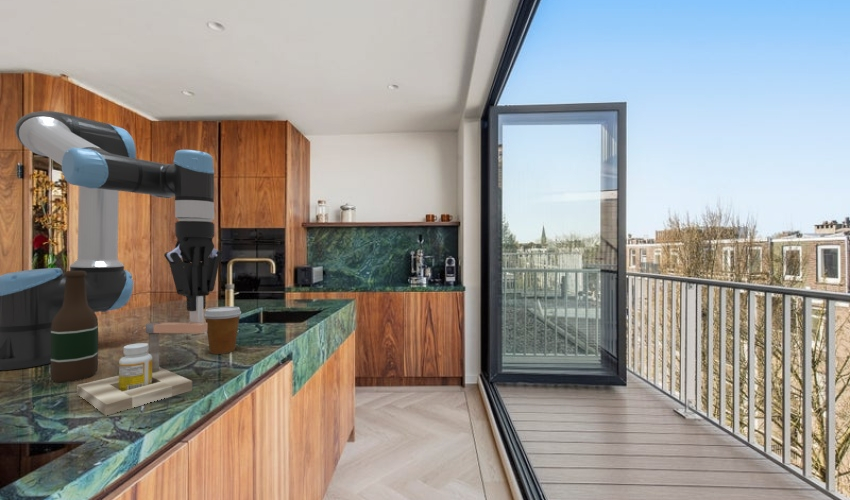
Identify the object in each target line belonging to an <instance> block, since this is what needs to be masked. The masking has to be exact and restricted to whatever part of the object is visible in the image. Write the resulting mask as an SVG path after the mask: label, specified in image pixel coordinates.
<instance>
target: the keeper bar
mask: <svg viewBox="0 0 850 500" xmlns="http://www.w3.org/2000/svg"><path fill="white" fill-rule="evenodd" d="M145 327H146V328H145V333H146V334H149V333H159V334H203V333H207V323H206V322H204V323H190V322H161V321H160V322H157V321H156V322H149V323H146V325H145Z"/></svg>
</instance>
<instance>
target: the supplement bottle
mask: <svg viewBox="0 0 850 500" xmlns="http://www.w3.org/2000/svg"><path fill="white" fill-rule="evenodd" d="M122 350H123V352H122V353H123V355H124V356H122V357H120V359H119V361H118V376H119V390H120V391H122V392H123V391H127V390H130V389H134V388H138V387H142V386H146V385H150V384H152V356H151V354H149V343H146V342H144V343H143V342H137V343H131V344H127V345H125V346H123V349H122Z"/></svg>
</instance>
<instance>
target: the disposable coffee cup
mask: <svg viewBox="0 0 850 500" xmlns="http://www.w3.org/2000/svg"><path fill="white" fill-rule="evenodd" d="M241 314H242V311H241V309H240V307H239V306H218V307H217V306H216V307H215V306H214V307H209V308H205V309H204V313H203V318H204V320H205V323H207V331H206V334H207V340H208V341H207V342H208V348H209V353H210V354H214V355H217V354H220V355H221V354H229V353H231V352H234V351H235V350H236V343H237V336H238V330H239V321H240V316H241Z"/></svg>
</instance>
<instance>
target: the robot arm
mask: <svg viewBox="0 0 850 500" xmlns="http://www.w3.org/2000/svg"><path fill="white" fill-rule="evenodd" d="M14 133H15V135H16V139H17V140H18V142H19V143H21V145H22V146H23V147H24V148H26V149H27V150H28V151H30V152H32V153H34V154H36V155H39V156H43V157H47V158H49V159H51V160H52V161H54V162H55V163H57V164H58V165H60V166H61V172H62V175H63V176H64V177H63V178H64V180H65V181H66V182H67V183H68V184H70V185H72V186H78V216H77V217H78V221H77V222H78V225H77V227H78V229H77V259H76V261H74V262H73V263H71V264H70V265H69V271H80V270H81V271H86V274H87V275H86V276H85V282H86V295H87V302H88V306H89V307H90V308H91V309H92V310H93V311H94V312H95V313H97V312H98V313H99V312H101V313H105V312H109V311H115V310H118V309H119V310H120V309H121V308H123V307H124V306H125V305H127V303H128V302H129V300H130V298H131V296H132V294H133V290H134V280H133V279H134V278H133V276H132V274H131V272H130V271H128V270H126V269H125V264H124V263H122V262H121V261H120V260H119V259H118V257H119V256H118V254H119V252H118V250H119V249H118V248H119V243H118V241H119V202H120V200H119V199H120V197H119V196H120V195H119V194H120V193H119V192H127V193H133V194H142V195H143V194H144V195H150V196H152V197H156V198H164V199H171V198H174V217H175V219H176V220H178V221H176V222H175V223H174V224H175V225H174V227H175V228H174V229H175V230H174V231H175V237H176V239H177V240H176V242H175V243H176V244H175V248H174V249H172V250H170V251H169V252H165V253H164V255H163V256H164V258H165V259H166V260H167V263H168V264H169V267H170V270H171V271H170V272H171V275H172V279H173V281H174V286H175V290H176V294H177V295H181V296H183V297H186V310H187V312H189V315H188V316H189V323H205V321H204V315H203V314H204V310H206V303H207V302H206V297H207V296H209V295H210V292H213V291H214V289H215V285H216V280H217V275H218V271H219V265H220V261H221V259H222V257H223V255H224V251H222V250H218V249H216V248H215V244H214V242H213V238H215V223H214V222H212V221H213V220H215V202H214V201H215V170H214V158H213V156H212V155H211V154H210V153H208V152H206V151H205V152H204V151H200V150H194V149H179V150H176V151H175V153H174V158H173V160H172V161H173V162H172V163H162V162H156V161H151V160H145V159H141V158H136V157H137V153H136V152H137V151H136V144H135V140H134V139H133V137H132V135H131V134H130V133H129V131H127V130H126V129H124V128H122V127H119V126H115V125H112V124H110V123H107V122H101V121H97V120H93V119H89V118H84V117H80V116H76V115H71V114H67V113H64V112H60V111H54V110H53V111H52V110H51V111H50V110H42V111H33V112H30V113H26V114H25V115H23V116H21V118H19V119H18V120H17V122H16V123H15V126H14ZM64 274H65V272H63V269H62V268H60V267H48V268H46V267H45V268H36V269H26V270H21V271H13V272H8V273H4V274H1V275H0V371H9V370H10V371H11V370H19V369H27V368H33V367H39V366H42V365H48V364H51V325H52V321H53V319H54V317H55V315H56V314H57V313H58V312H59V310H60V309H61V308H62V305H63V301H64V292H65V281H66V277H65V276H64Z"/></svg>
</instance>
